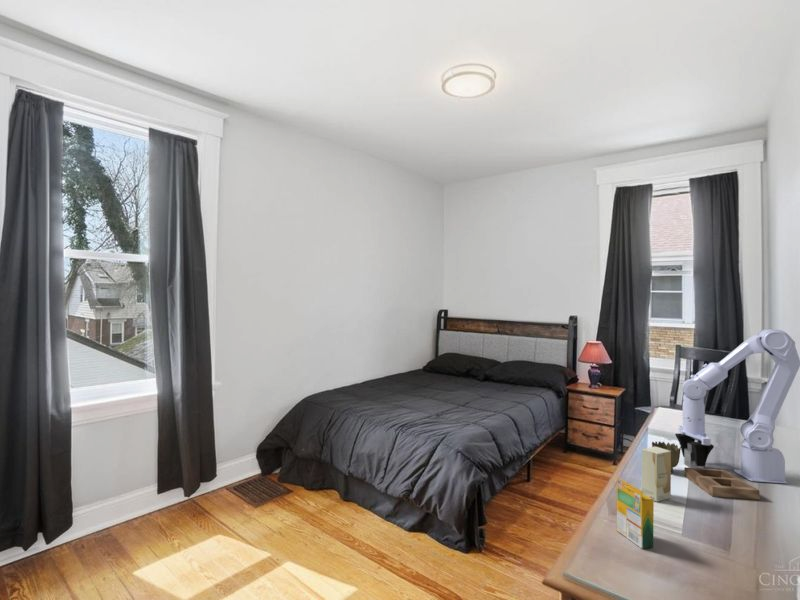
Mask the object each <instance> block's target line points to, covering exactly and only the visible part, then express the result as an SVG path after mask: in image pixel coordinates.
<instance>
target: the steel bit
mask: <svg viewBox="0 0 800 600" xmlns="http://www.w3.org/2000/svg"><path fill="white" fill-rule="evenodd" d="M683 459H684V460H683V462H684V465H685V466H686V467H687V468H700V469H704V466H697V465H696V462H695V455H694V450H693V447H692V445H691V443H687V449H684V457H683Z"/></svg>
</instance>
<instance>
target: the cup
mask: <svg viewBox="0 0 800 600" xmlns="http://www.w3.org/2000/svg"><path fill="white" fill-rule="evenodd" d="M666 443H667V444H666ZM666 443H665V441H662V442H661V441H655V442H654V441H652V442H651V447H659V448H662V449H666V450H669V451H671V473H673V472H674V468H675V467H677V466H678V464H679V463H680V456H681V451H682V450H681V446H680V447H678V444H676V443H670V442H666Z"/></svg>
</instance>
